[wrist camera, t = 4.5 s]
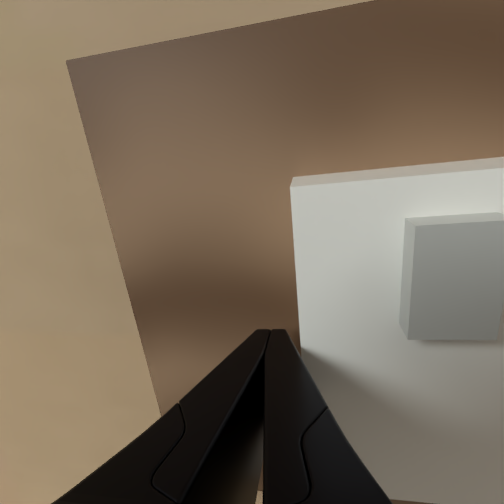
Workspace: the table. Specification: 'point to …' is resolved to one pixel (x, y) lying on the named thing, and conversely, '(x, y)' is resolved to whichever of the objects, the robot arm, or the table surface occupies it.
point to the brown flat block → (269, 153)
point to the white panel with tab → (409, 321)
